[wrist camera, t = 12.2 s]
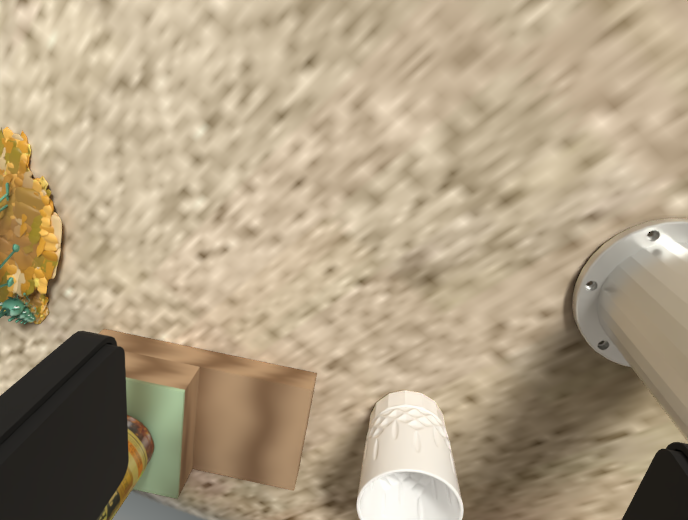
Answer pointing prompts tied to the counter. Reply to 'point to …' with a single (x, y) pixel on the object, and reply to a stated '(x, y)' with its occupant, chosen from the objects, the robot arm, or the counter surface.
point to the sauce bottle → (131, 465)
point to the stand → (214, 414)
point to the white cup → (408, 463)
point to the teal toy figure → (25, 234)
